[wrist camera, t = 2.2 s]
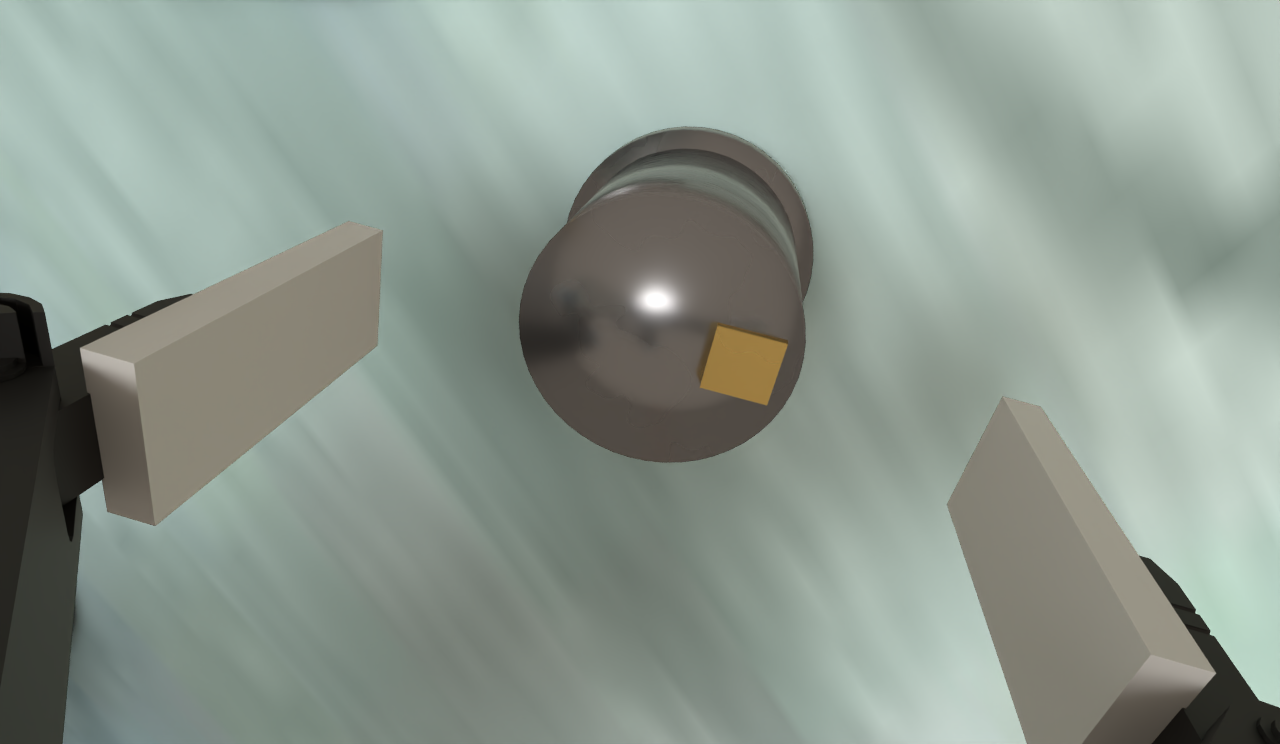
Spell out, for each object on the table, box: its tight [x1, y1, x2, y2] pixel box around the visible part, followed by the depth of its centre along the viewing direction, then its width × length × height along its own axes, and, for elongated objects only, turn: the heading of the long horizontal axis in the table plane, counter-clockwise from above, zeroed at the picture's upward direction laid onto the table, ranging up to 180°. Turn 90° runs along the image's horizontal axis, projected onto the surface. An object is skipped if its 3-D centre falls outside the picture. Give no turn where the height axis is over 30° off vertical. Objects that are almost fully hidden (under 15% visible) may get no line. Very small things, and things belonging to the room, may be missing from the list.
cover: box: [519, 126, 813, 462], centre depth 20 cm, size 8×8×7 cm
